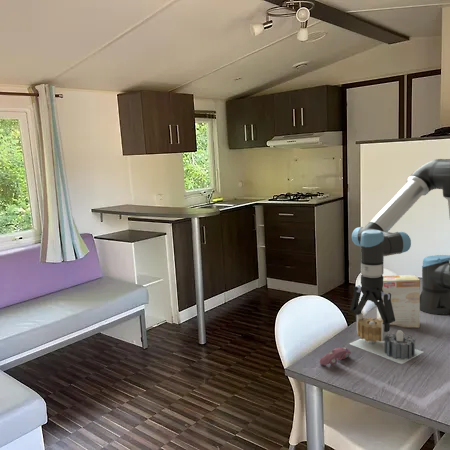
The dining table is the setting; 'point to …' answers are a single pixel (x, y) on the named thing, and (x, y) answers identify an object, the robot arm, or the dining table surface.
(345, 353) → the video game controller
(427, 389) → the dining table surface
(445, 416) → the dining table surface
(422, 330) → the dining table surface
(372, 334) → the wooden gear
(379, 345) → the gear board
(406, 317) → the coffeecake box
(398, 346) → the gear
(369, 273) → the robot arm
